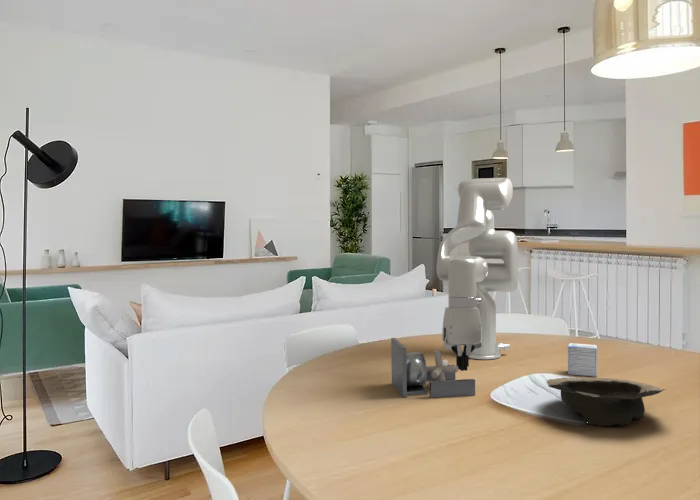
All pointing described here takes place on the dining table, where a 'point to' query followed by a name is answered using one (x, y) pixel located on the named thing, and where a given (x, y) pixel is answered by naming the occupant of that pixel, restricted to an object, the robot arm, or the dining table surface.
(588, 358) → the medicine box
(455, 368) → the pipe connector
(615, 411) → the stone bowl
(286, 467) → the dining table surface
